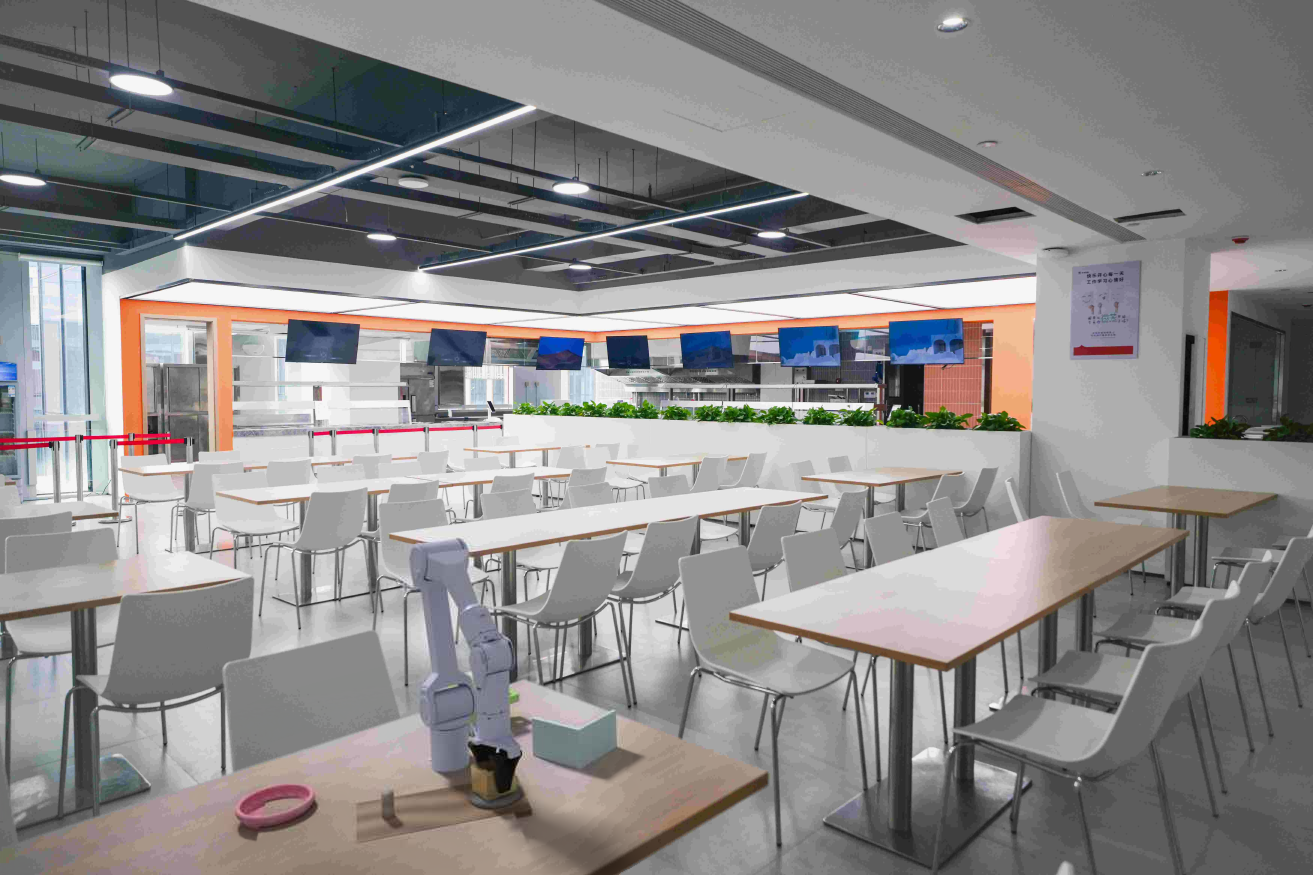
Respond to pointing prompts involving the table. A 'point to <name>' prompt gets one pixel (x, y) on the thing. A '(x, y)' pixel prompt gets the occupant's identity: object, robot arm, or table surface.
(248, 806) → the pink ring
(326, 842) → the table surface
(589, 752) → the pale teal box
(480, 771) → the collar
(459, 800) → the board
